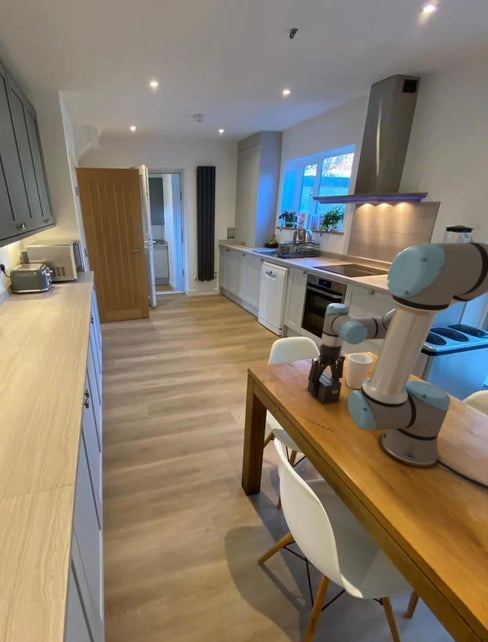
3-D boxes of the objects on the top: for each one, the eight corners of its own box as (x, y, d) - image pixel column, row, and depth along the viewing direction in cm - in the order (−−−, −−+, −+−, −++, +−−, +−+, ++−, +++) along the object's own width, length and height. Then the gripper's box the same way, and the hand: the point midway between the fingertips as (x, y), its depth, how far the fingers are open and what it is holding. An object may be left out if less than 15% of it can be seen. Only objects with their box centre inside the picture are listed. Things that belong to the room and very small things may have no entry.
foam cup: (369, 391, 136) (376, 364, 130) (345, 389, 137) (351, 362, 132) (362, 380, 144) (369, 354, 138) (340, 378, 146) (345, 352, 140)
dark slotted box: (340, 402, 129) (344, 384, 125) (325, 405, 127) (328, 387, 124) (321, 387, 140) (324, 370, 136) (307, 389, 138) (309, 372, 135)
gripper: (346, 337, 130) (337, 386, 140) (302, 343, 126) (296, 393, 135) (360, 344, 123) (349, 395, 133) (314, 350, 119) (306, 403, 129)
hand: (322, 394), depth 134 cm, fingers closed on dark slotted box, 7 cm apart
